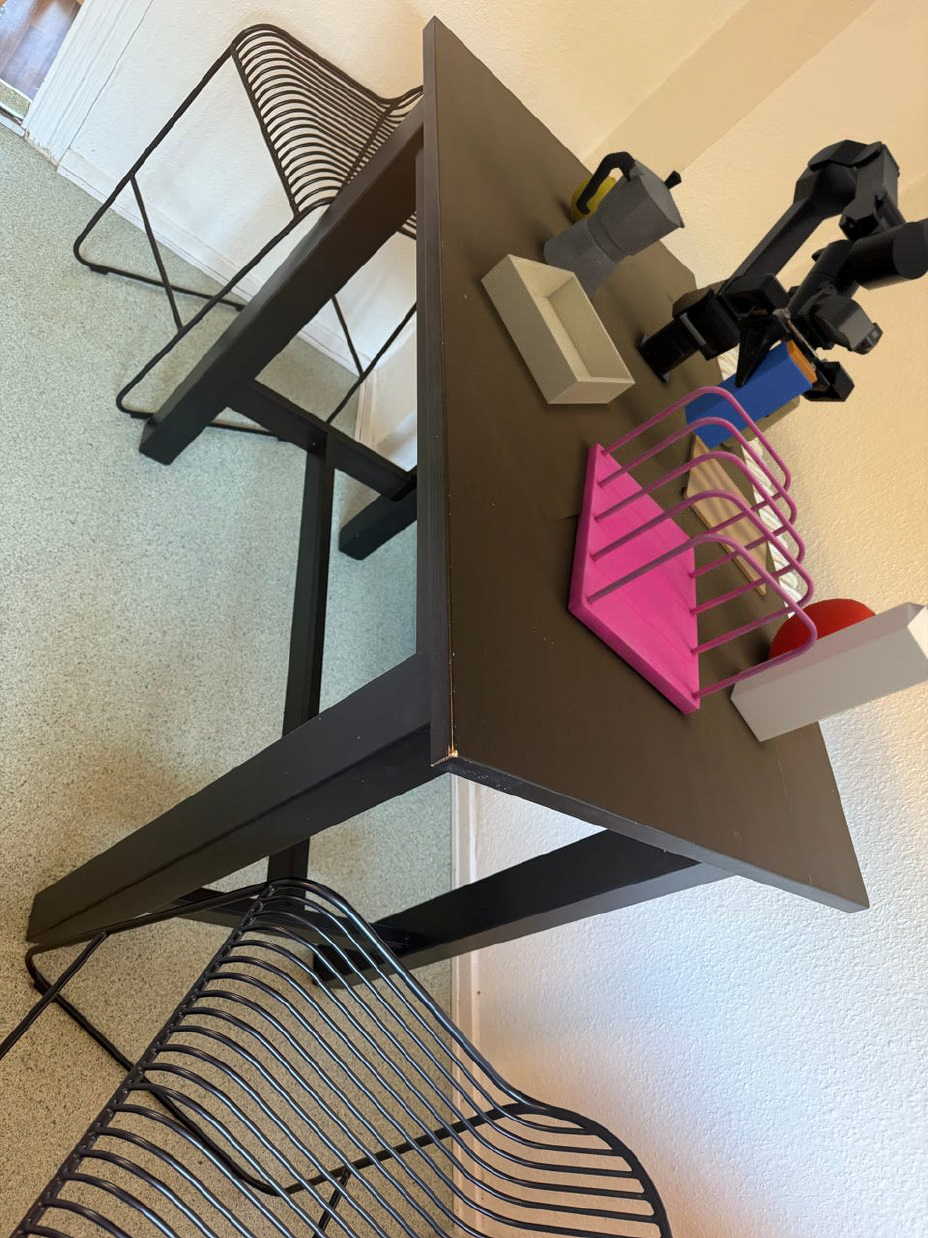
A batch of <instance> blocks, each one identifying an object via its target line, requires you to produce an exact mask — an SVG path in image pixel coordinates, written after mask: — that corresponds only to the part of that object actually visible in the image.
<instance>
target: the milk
mask: <svg viewBox="0 0 928 1238" xmlns="http://www.w3.org/2000/svg"><path fill="white" fill-rule="evenodd" d="M792 651H793V650H792ZM790 652H791V651H790ZM785 654H786V653H785ZM783 655H784V654H783ZM780 656H781V655H780ZM778 657H779V656H778ZM776 658H777V657H776ZM773 659H775V658H773ZM771 660H772V659H771ZM768 661H770V660H769V659H768V660H767V661H764V662H762V663H759V664H757V665H755V666H753V667H750V668H748V669H745V670H743V671H741V672H740V673H742V672H744V671H746V670H749V669H751V668H754V667H756V666H758V665H761V664H763V663H765V662H768ZM926 682H928V604H926V605H925V604H919V603H915V602H911V601H906V602H903V603H901V604H899V605H896V606H894V607H891V608H889V609H887V610H885V611H883V612H880V613H876V615H875V616H872V617H870V618H868V619H865V620H863V621H861V622H858V623H856V624H854V625H851V626H849V627H846V628H844V629H842V630H839V631H837V632H835V633H832V634H830V635H828V636H825V637H823V638H821V639H818V640H816V642H815V644H814V645H813V647H812V648H811V649H809V650H808V651H807V652H805V653H804V654H802V655H800V656H798V657H796V658H793V659H791V660H789V661H787V662H784V663H782V664H780V665H777V666H775V667H773V668H770V669H768V670H766V671H763V672H761V673H758V674H756V675H754V676H751V677H749V678H746V679H744V680H742V681H739V682H737V683H734V686H733V689H732V693H731V695H730V697H729V699H730V701H731V702H732V704H733V705H734V707H735V709H737V711H738V713H739V714H740V715H741V718H742V719H743V720H744V721H745V723H746V724H747V726H748V727H749V729H750V730H751V732H752V734H753V735H754V736H755V738H756V739H757V741H758V742H759V743H761V742H763V741H767V740H769V739H772V738H775V737H778V736H781V735H783V734H786V733H789V732H791V731H794V730H797V729H801V728H803V727H805V726H808V725H811V724H813V723H816V722H819V721H821V720H825V719H828V718H830V717H833V716H835V715H838V714H841V713H844V712H847V711H849V710H852V709H854V708H858V707H861V706H863V705H866V704H870V703H872V702H875V701H876V700H879V699H883V698H886V697H888V696H891V695H893V694H897V693H900V692H902V691H904V690H907V689H910V688H913V687H916V686H918V685H921V684H924V683H926Z"/></svg>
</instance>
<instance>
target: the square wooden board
mask: <svg viewBox="0 0 928 1238" xmlns="http://www.w3.org/2000/svg"><path fill="white" fill-rule="evenodd" d="M690 449H691V450H690V453H689V459H688V462H689V461H691V460H693V459H695V458H697V457H698V456H700V455H703V454H705V453H708V452H711V451H710V449H709V448H708V446H707V445H706V444H705V443H704V442H703V441H702V440H701V439H700V438H699V437H698V435H697V434H696V435H693V437H692V443H691V448H690ZM686 476H687V478H688V480H687V481H688V483H687V485H685V486H684V487H683V492H682V497H683V499H684V500H686V499H688V498H690V497H691V496H693V495H695V494H697V493H700V492H702V491H706V490H711V489H719V490H725V491H728V492H731V493H734V494H735V495H737V496H738V497H740V498H741V499H742V500H743V501H744V502H745V503H746V504H747V506H748V507H749V508H751V507H753V505H751V504H750V502H749V501H748V500H747V498H746V497H745V496H744V494H743V493H742V492H741V490H740V489H739V488H738V487H737V485H736V484H735V482H734V481H733V480H732V479H731V477H730V475H728V474H727V472H726V471H725V470H724V468H723V467H722V466H721V463H719V461H717V458H714V459H709V460H706V461H704V462H702V463H700V464H698V465H697V466H695V467H693V468H692V469H690V470H688V471H686ZM689 507H690V508H691V509H692V510H693V511H694V513H695V514H696V515H697V517H698V518H699V519H700V520H701V521H702V523H703V524H704V526H705V527H706V528H707V530H709V529H711V528H713V527H715V526H717V525H719V524H720V523H722V522H724V521H726V520H728V519H730V518H732V517H734V516H736V515H737V514H739V513H741V512H742V511H741V510H740V508H739V507H738V506H737V505H736V504H735V503H733V502H732V501H730V500H728V499H725V498H720V497H710V498H705V499H703V500H700V501H698V502H696V503H694V504H692V505H690V506H689ZM754 513H755V514H756V515H757V517H758V518H759V519H760V520H761V521H762V522H763V523H764V524H765V525H766V523H765V522H764V521H763V518H761V517H760V515H759V514H758V513H757V511H756V512H754ZM714 534H722V535H726V536H729V537H731V538H733V539H735V540H737V541H738V542H739V543H741V544H742V545H743V546H745V545H747V544H749V543H751V542H753V541H755V540H757V539H759V538H761V537H763V536H764V535H763V533H762V532H761V531H760V530H759V529H758V528H757V527H756V526H755V525H754V524H753V523H752V521H751V520H750V519H749V518H748V517H747V516H746V517H744V518H742V519H741V520H739V521H737V522H735V523H733V524H731V525H729V526H727V527H725V528H723V529H721V530H720V531H718V532H716V533H714ZM718 543H719V544H720V546H721V547H722V548H723V549H724V551H725V552H726V553H727V555H728V554H730V553H732V552H734V551H736V550H735V549H734V548H733V547H731V546H729V545H727V544H724V543H720V542H718ZM748 552H749V553H750V554H751V555H752V556H753V557H754V558H755V559H756V560H757V561H758V562H759V563H760V564H761V565H762V566H763V568H764V569H765V570H766V571H767V542H765V543H763V544H761V545H759V546H757V547H755V548H753V549H751V550H749V551H748ZM732 561H733V562H734V563H735V565H737V567H738V568H739V570H740V571H741V572H742V573H743V575H744V576H745V577H746V578H747V579H748V582H749V583H751V582H753V581H756V580H758V579H760V578H762V577H761V576H760V575H759V574H758V573H757V572H756V571H755V570H754V569H753V568H752V566H751V565H750V564H749V563H748V562H747V561H746V560H745V559H744V558H743V557H742V556H741V555H739V556H737V557H735V558H733V559H732ZM766 584H767V583H765V584H763V585H761V586H758V587H756V588H755V590H756V591H757V592H758V594H759V595H760V596H761V597H762V596H764V595H766V588H767V587H766Z"/></svg>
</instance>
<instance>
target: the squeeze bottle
mask: <svg viewBox="0 0 928 1238" xmlns="http://www.w3.org/2000/svg"><path fill="white" fill-rule="evenodd" d="M820 361H821V362H830V361H829V359H828V358H827V357H825V358H822V359H820ZM801 397H803V396H802V394H800V395H799V396H797V397H796V398H794V399H792V400H791V401H790V402H788V403H787V404H785V405H784V406H783V407H781V408H780V409H779V410H777V411H776V412H775V413H773V414H772V415H770V416H769V417H763V418H761V419H760V420H758V421H756V422H755V425H756V426H757V427H758V429H759V430H760V431H761V433H762V434H763V433H764V432H766V431H767V430H768V429H770V428H771V427H773V426H774V425H776V424H777V423H778V422H779V421H781V420H782V419H783V418H785V417H786V416H788V415H789V414H790V413H792V412H793V411H794V410H795V409H797V408H798V407H799V406H800V403H801ZM740 433H741V435H742V436H743V437H744V438H745V440H746V441H747V442H748V443H749V442H752V441H754V440H755V439H757V436H756V435H755V434H754V432H753V431H752V430H751V429H750V427H749V426H748V427H747V428H745V429H743V430H742V431H740ZM721 444H722V445H723V446H725V447H726V448H729V447H733V446H737V445H741V444H740V443H739V441H738V440H737V439H736V438H735V437H734V436H732V437H730V438H729V439H727V440H726V441H724V442H722V443H721Z"/></svg>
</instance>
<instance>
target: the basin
mask: <svg viewBox="0 0 928 1238" xmlns="http://www.w3.org/2000/svg"><path fill="white" fill-rule="evenodd" d="M480 281H481V283H482V285H483V287H484V290H485V291H486V293H487V294H488V296H489V298H490V300H491V302H492V303H493V306H494V307H495V309H496V311H497V312H498V314H499V317H500V318H501V320H502V322H503V324H504V325H505V327H506V329H507V331H508V333H509V335H510V336H511V338H512V340H513V342H514V344H515V345H516V346H515V347H517V350H518V351H519V353H520V354H521V357H522V358H523V360H524V363H525V364H526V366H527V367H528V369H529V371H530V374H531V375H532V377H533V379H534V380H535V382H536V384H537V387H538V388H539V390H540V392H541V394H542V395H543V397H544V399H545V401H546V403H547V404H550V405H551V404H556V405H557V404H609V403H610V402H611V401H613V400H614V399H616V398H617V397H619V396H620V395H621V394H623V393H624V392H625V391H627V390H628V389H629V388H631V387H632V386H633V385H635V384H636V381H635V380H634V377H633V376H632V374H631V372H630V370H629V369H628V367H627V365H626V364H625V361H624V360H623V358H622V356H621V354H620V353H619V351H618V349H617V347H616V345H615V344H614V342H613V340H612V338H611V336H610V334H609V333H608V331H607V330H606V328H605V326H604V324H603V322H602V321H601V319H600V317H599V315H598V313H597V311H596V309H595V308H594V306H593V304H592V303H591V301H590V299H588V297H587V295H586V293H585V292H584V290H583V288H582V286H581V284H580V283H579V281H578V279H577V277H576V275H575V274H574V272H571V271H567V270H564V269H560V268H556V267H553V266H549V265H548V264H546V263H542V262H539V261H535V260H530V259H528V258H524V257H520V256H517V255H514V254H510V253H508V254H507V255H506V256H504V258H502V260H500V261H499V262H498V263H497V264H496V265H495V266H494V267H492V268H491V269H490V271H488V272H487V273H486V274H485V275H484V276H483V277H482V278H481V279H480Z"/></svg>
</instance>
